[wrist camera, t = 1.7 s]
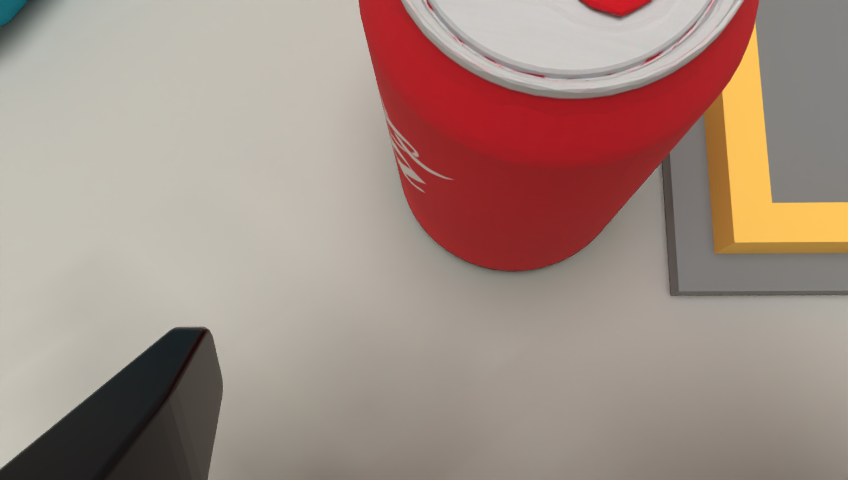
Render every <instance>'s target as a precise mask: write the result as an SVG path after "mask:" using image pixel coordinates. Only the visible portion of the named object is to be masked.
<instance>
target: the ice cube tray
mask: <svg viewBox="0 0 848 480" xmlns="http://www.w3.org/2000/svg"><path fill="white" fill-rule="evenodd" d="M27 1H28V0H0V27H1V26H3V25H4V24H6V23H8V22H10V21H11V20H12V18H13V17H14V16H15V15H16V14H17V13H18V12H19V10H20V9H21V8H22V7H23V6H24V5H25V4H26V2H27Z"/></svg>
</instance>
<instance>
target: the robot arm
mask: <svg viewBox="0 0 848 480" xmlns="http://www.w3.org/2000/svg"><path fill="white" fill-rule="evenodd" d="M222 392H223V382H222V375H221V370H220V366H219V362H218V357H217V353H216V349H215V344H214V340H213V336H212V334H211V332H210V330H209V329H207V328H206V327H176V328H173V329H172V330H170V331H169V332H167V333H166V334H165V335H164V336H163V337H161V338H160V339H159V340H158V341H156V342H155V343H154V344H153V345H152V346H150V347H149V348H148V349H147V350H145V351H144V352H143V353H142V354H141V355H139V356H138V357H137V358H136V359H134V360H133V361H132V362H131V363H130V364H128V365H127V366H126V367H125V368H123V369H122V370H121V371H120V372H119V373H117V374H116V375H115V376H114V377H112V378H111V379H110V380H109V381H108V382H106V383H105V384H104V385H103V386H101V387H100V388H99V389H98V390H97V391H95V392H94V393H93V394H92V395H90V396H89V397H88V398H87V399H85V400H84V401H83V402H82V403H81V404H79V405H78V406H77V407H76V408H74V409H73V410H72V411H71V412H70V413H68V414H67V415H66V416H65V417H63V418H62V419H61V420H60V421H59V422H57V423H56V424H55V425H54V426H52V427H51V428H50V429H49V430H48V431H46V432H45V433H44V434H43V435H41V436H40V437H39V438H38V439H37V440H35V441H34V442H33V443H32V444H30V445H29V446H28V447H27V448H26V449H24V450H23V451H22V452H21V453H19V454H18V455H17V456H16V457H15V458H13V459H12V460H11V461H10V462H8V463H7V464H6V465H5V466H4V467H2V468H1V469H0V480H207V479H208V473H209V468H210V462H211V456H212V451H213V445H214V440H215V434H216V428H217V423H218V417H219V412H220V406H221V400H222Z"/></svg>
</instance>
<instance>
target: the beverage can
mask: <svg viewBox="0 0 848 480" xmlns="http://www.w3.org/2000/svg"><path fill="white" fill-rule="evenodd" d="M758 5H759V0H359V7H360V15H361V19H362V23H363V27H364V31H365V35H366V39H367V43H368V47H369V51H370V56H371V60H372V64H373V68H374V72H375V76H376V80H377V84H378V88H379V92H380V97H381V101H382V105H383V109H384V113H385V117H386V121H387V125H388V129H389V133H390V138H391V142H392V146H393V150H394V154H395V158H396V162H397V166H398V170H399V174H400V179H401V183H402V186H403V190H404V194H405V197H406V199H407V202H408V204H409V206H410V208H411V210H412V212H413V214H414V216H415V217H416V219H417V220H418V222H419V223H420V225H421V226H422V227H423V228H424V230H425V231H426V232H427V233H428V234H429V235H430V236H431V237H432V238H433V239H434V240H435V241H436V242H437V243H438V244H440V245H441V246H442V247H443V248H445V249H446V250H448V251H449V252H451V253H452V254H454V255H456V256H457V257H459V258H461V259H463V260H465V261H468V262H470V263H473V264H476V265H479V266H482V267H486V268H490V269H496V270H505V271H523V270H532V269H538V268H542V267H545V266H549V265H552V264H555V263H557V262H560V261H562V260H564V259H566V258H568V257H570V256H572V255H574V254H575V253H577V252H578V251H580V250H581V249H583V248H584V247H585V246H587V245H588V244H589V243H590V242H591V241H592V240H593V239H594V238H595V237H596V236H597V235H598V234H599V233H600V232H601V231H602V230H603V229H604V227H605V226H606V225H607V224H608V223H609V222H610V221H611V219H612V218H613V217H614V216H615V215H616V214H617V213H618V211H619V210H620V209H621V208H622V207H623V206H624V204H625V203H626V202H627V201H628V200H629V199H630V198H631V196H632V195H633V194H634V193H635V192H636V191H637V190H638V188H639V187H640V186H641V185H642V184H643V183H644V181H645V180H646V179H647V178H648V177H649V176H650V175H651V173H652V172H653V171H654V170H655V169H656V168H657V167H658V165H659V164H660V163H661V162H662V161H663V160H664V158H665V157H666V156H667V155H668V154H669V153H670V152H671V150H672V149H673V148H674V147H675V146H676V145H677V144H678V142H679V141H680V140H681V139H682V138H683V137H684V135H685V134H686V133H687V132H688V131H689V130H690V129H691V127H692V126H693V125H694V124H695V123H696V122H697V121H698V119H699V118H700V117H701V116H702V115H703V114H704V112H705V111H706V110H707V109H708V108H709V107H710V106H711V104H712V103H713V102H714V101H715V100H716V99H717V98H718V96H719V95H720V94H721V92H722V91H723V90H724V88H725V87H726V86H727V84H728V83H729V82H730V80H731V78H732V77H733V75H734V73H735V72H736V70H737V68H738V66H739V65H740V63H741V61H742V58H743V56H744V54H745V51H746V49H747V47H748V44H749V41H750V38H751V35H752V32H753V29H754V25H755V20H756V15H757V10H758Z"/></svg>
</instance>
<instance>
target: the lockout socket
mask: <svg viewBox="0 0 848 480" xmlns="http://www.w3.org/2000/svg"><path fill="white" fill-rule="evenodd" d="M662 167H663V183H664V199H665V214H666V230H667V245H668V261H669V276H670V292H671V295H848V0H759V5H758V10H757V15H756V20H755V25H754V29H753V32H752V35H751V38H750V41H749V44H748V47H747V49H746V51H745V54H744V56H743V58H742V61H741V63H740V65H739V66H738V68H737V70H736V72H735V73H734V75H733V77H732V78H731V80H730V82H729V83H728V84H727V86H726V87H725V88H724V90H723V91H722V92H721V94H720V95H719V96H718V98H717V99H716V100H715V101H714V102H713V103H712V104H711V106H710V107H709V108H708V109H707V110H706V111H705V112H704V114H703V115H702V116H701V117H700V118H699V119H698V121H697V122H696V123H695V124H694V125H693V126H692V127H691V129H690V130H689V131H688V132H687V133H686V134H685V135H684V137H683V138H682V139H681V140H680V141H679V142H678V144H677V145H676V146H675V147H674V148H673V149H672V150H671V152H670V153H669V154H668V155H667V156H666V157H665V158H664V160H663V161H662Z"/></svg>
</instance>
